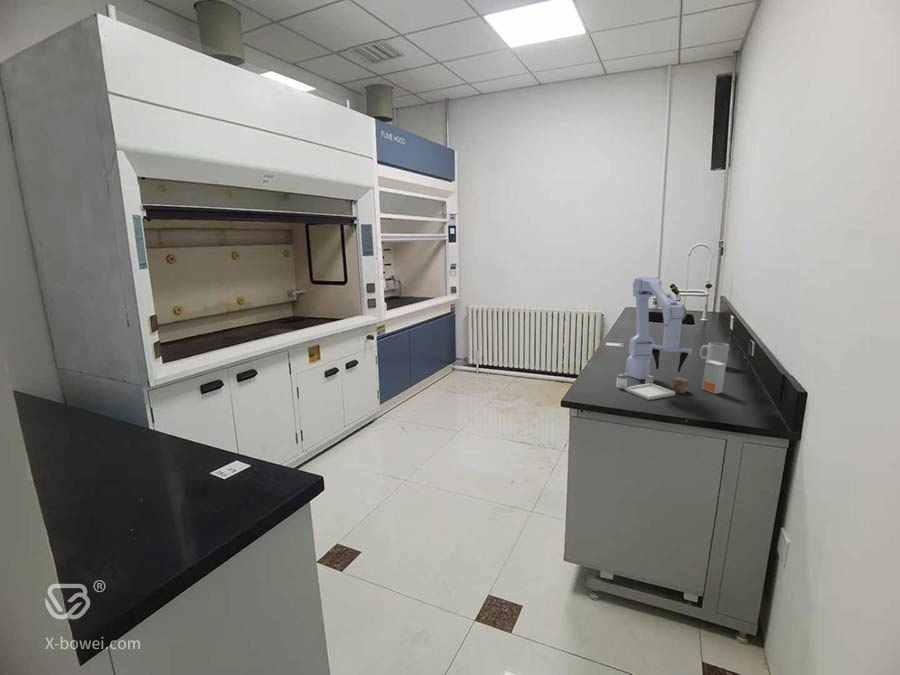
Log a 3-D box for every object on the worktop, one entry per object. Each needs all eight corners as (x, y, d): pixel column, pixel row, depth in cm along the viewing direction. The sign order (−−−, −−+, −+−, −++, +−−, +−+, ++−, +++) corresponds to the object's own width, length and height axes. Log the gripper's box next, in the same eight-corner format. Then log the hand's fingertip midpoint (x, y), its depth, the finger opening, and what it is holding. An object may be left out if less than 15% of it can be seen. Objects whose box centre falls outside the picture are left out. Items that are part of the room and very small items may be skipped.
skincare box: (701, 389, 181) (705, 360, 179) (709, 388, 183) (712, 359, 180) (714, 394, 176) (718, 364, 173) (722, 392, 177) (726, 363, 175)
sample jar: (613, 386, 185) (614, 374, 184) (621, 384, 187) (622, 373, 186) (621, 389, 181) (622, 377, 180) (629, 388, 183) (630, 375, 182)
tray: (624, 390, 180) (625, 387, 180) (650, 386, 185) (651, 383, 185) (648, 400, 169) (648, 396, 169) (675, 395, 174) (675, 391, 174)
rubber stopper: (643, 384, 188) (644, 377, 187) (648, 383, 189) (649, 376, 189) (648, 386, 185) (649, 379, 185) (654, 385, 186) (655, 378, 186)
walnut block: (672, 390, 180) (673, 379, 178) (677, 388, 182) (678, 377, 181) (682, 393, 176) (683, 381, 175) (687, 391, 179) (688, 379, 178)
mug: (728, 366, 214) (731, 343, 212) (723, 369, 208) (726, 346, 206) (700, 361, 222) (703, 340, 220) (695, 364, 216) (698, 342, 214)
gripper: (649, 335, 171) (646, 369, 174) (692, 340, 164) (688, 375, 167) (652, 332, 177) (648, 365, 180) (693, 336, 170) (689, 370, 173)
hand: (668, 369), depth 174 cm, fingers open, 7 cm apart
